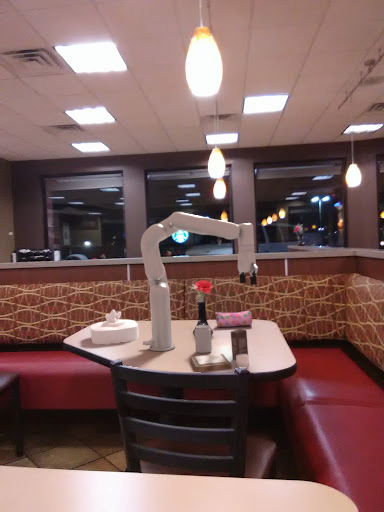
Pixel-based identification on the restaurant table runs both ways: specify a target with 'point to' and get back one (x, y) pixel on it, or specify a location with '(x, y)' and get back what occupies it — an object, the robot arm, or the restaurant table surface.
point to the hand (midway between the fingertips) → (248, 283)
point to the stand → (210, 362)
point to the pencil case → (234, 319)
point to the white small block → (242, 360)
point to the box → (239, 342)
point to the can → (203, 339)
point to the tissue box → (114, 330)
